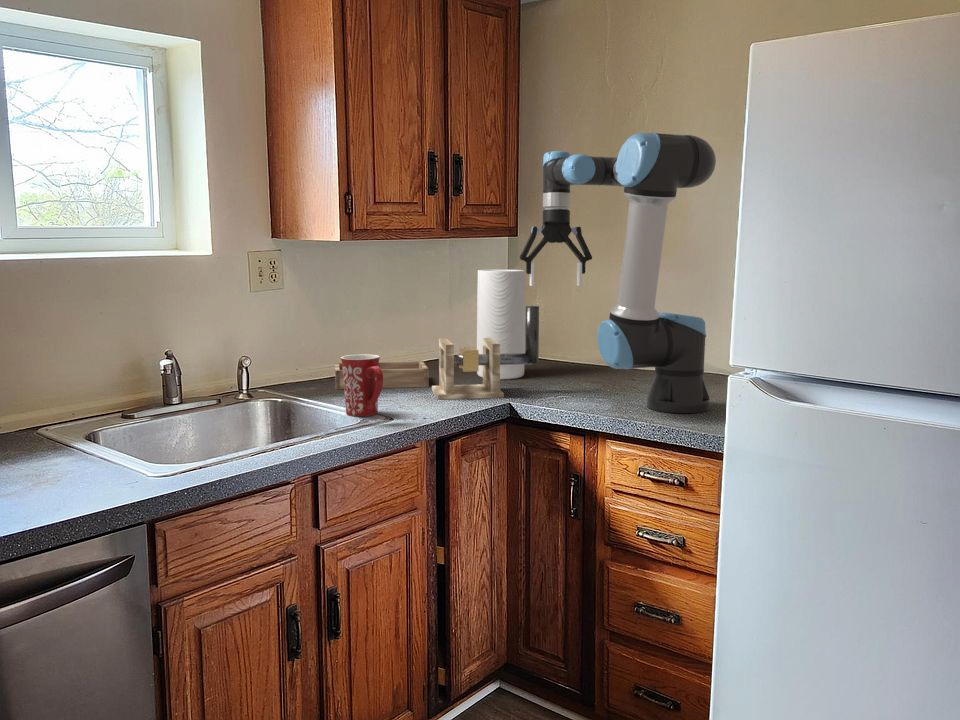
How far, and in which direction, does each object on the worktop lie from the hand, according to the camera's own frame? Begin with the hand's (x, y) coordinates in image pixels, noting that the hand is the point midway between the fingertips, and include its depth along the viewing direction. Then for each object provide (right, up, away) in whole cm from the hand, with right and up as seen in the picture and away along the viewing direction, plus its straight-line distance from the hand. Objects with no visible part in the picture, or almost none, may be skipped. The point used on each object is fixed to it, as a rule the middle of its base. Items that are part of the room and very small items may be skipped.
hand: (555, 286), depth 237 cm
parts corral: (-49, -27, +2) cm, 56 cm away
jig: (-24, -30, -13) cm, 41 cm away
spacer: (-24, -23, -14) cm, 36 cm away
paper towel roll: (-15, -26, +15) cm, 34 cm away
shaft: (-18, -22, -13) cm, 32 cm away
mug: (-48, -34, -41) cm, 71 cm away
